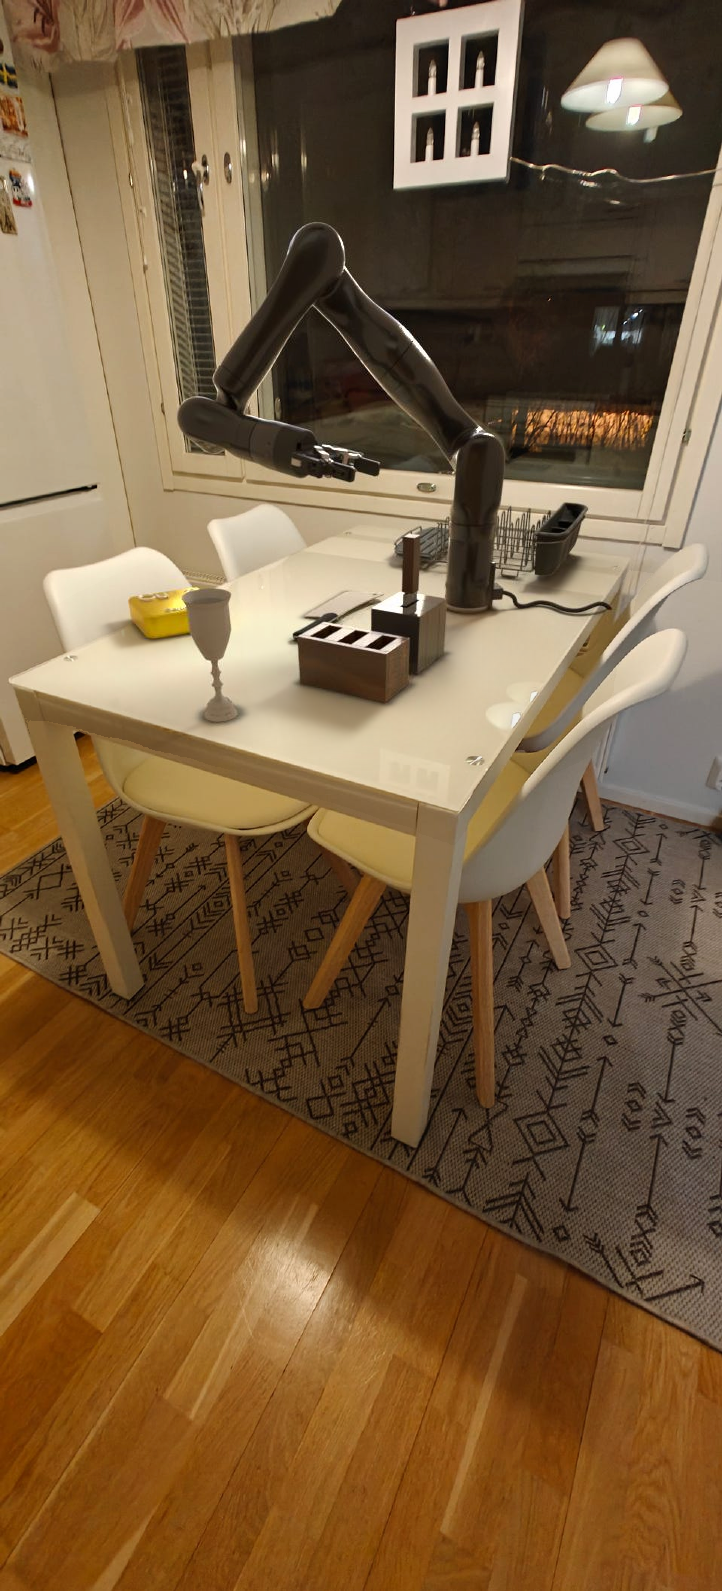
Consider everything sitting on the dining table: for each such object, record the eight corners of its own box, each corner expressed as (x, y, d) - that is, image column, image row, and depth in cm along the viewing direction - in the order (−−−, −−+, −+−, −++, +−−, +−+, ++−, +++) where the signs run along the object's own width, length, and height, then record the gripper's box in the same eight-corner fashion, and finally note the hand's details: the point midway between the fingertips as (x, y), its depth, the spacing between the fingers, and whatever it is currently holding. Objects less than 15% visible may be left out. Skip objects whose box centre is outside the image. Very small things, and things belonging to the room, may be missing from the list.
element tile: (148, 640, 135) (144, 615, 133) (129, 618, 146) (125, 594, 144) (224, 627, 141) (221, 603, 139) (200, 606, 153) (197, 583, 150)
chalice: (200, 704, 111) (184, 589, 102) (244, 702, 112) (232, 587, 102) (195, 726, 105) (177, 605, 96) (242, 723, 106) (229, 603, 96)
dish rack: (558, 586, 163) (566, 531, 157) (379, 566, 179) (379, 515, 172) (583, 552, 189) (591, 503, 183) (425, 536, 205) (427, 491, 198)
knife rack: (325, 666, 124) (323, 621, 120) (408, 684, 117) (409, 637, 113) (299, 683, 118) (297, 636, 114) (385, 703, 112) (386, 654, 107)
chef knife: (408, 654, 129) (411, 532, 118) (418, 656, 128) (422, 533, 117) (397, 661, 126) (400, 537, 115) (408, 663, 125) (412, 539, 114)
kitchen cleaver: (346, 587, 160) (386, 588, 155) (347, 595, 161) (386, 596, 156) (266, 630, 137) (310, 633, 132) (267, 639, 138) (311, 642, 133)
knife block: (399, 644, 133) (400, 590, 127) (444, 653, 129) (447, 598, 124) (370, 664, 125) (370, 608, 119) (417, 674, 121) (419, 616, 116)
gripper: (260, 426, 114) (349, 451, 109) (308, 421, 124) (390, 444, 119) (257, 476, 118) (342, 502, 113) (303, 467, 129) (382, 491, 124)
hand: (366, 472), depth 116 cm, fingers open, 8 cm apart
